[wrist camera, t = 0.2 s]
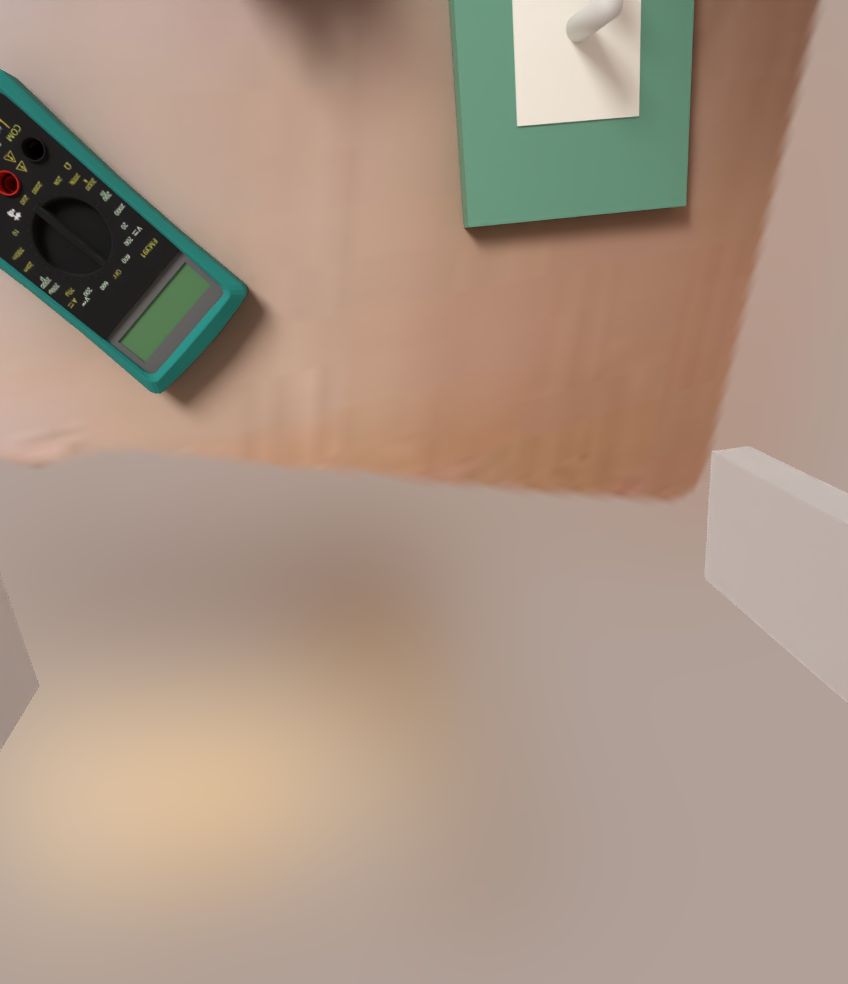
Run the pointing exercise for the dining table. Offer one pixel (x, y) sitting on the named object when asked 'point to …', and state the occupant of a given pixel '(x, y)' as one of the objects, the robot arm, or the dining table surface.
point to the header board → (571, 106)
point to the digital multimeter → (103, 249)
